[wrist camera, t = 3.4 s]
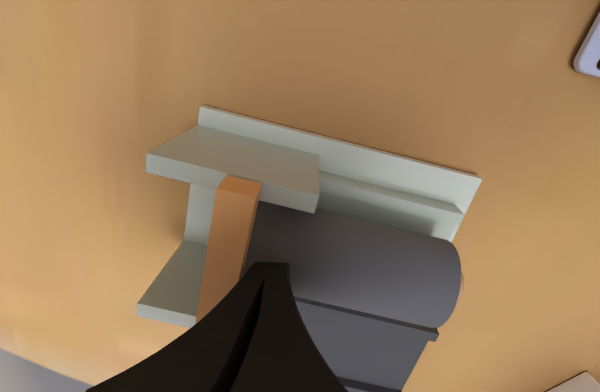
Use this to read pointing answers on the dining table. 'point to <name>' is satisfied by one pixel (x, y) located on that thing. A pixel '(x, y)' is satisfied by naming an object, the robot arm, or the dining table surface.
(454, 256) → the grey roller spool
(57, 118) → the dining table surface
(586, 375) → the milk
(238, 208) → the long tan wooden plank
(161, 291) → the white roller cradle
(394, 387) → the dark grey roller cradle
